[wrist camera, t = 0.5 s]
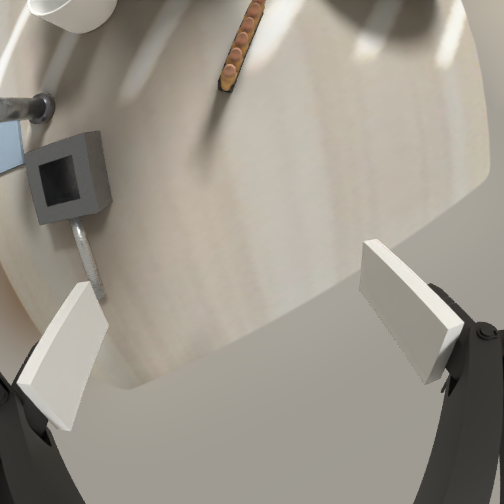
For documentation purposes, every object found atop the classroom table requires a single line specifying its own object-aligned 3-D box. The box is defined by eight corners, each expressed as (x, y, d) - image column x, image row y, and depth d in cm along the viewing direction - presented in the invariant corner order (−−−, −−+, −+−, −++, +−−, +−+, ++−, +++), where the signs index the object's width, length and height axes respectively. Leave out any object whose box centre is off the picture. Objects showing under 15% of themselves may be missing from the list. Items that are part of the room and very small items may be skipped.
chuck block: (42, 149, 31) (23, 154, 27) (100, 130, 32) (84, 132, 27) (80, 289, 41) (69, 306, 37) (134, 283, 42) (125, 302, 37)
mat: (-14, 119, 27) (-16, 119, 26) (18, 101, 27) (16, 101, 27) (-6, 175, 31) (-8, 176, 30) (25, 162, 31) (23, 163, 31)
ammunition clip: (231, 93, 32) (237, 78, 21) (217, 89, 32) (216, 72, 21) (258, 24, 28) (275, -14, 17) (245, 19, 28) (256, -20, 17)
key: (31, 91, 27) (-32, 91, 15) (53, 81, 27) (-8, 74, 15) (34, 135, 30) (-29, 149, 18) (57, 126, 30) (-6, 136, 18)
